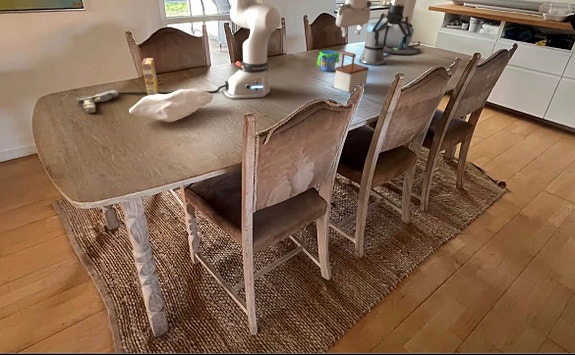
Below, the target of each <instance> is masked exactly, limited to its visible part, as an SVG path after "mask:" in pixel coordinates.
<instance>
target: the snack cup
mask: <svg viewBox="0 0 575 355" xmlns="http://www.w3.org/2000/svg"><path fill="white" fill-rule="evenodd" d="M339 62H340V54H339V52H338V51H336V50H331V49H325V50H324V49H323V50H320V51H319V55H318V57H317V61H316V66H318V67H320V70H321V71H323V72H327V73H329V72H330V73H331V72H334V71H335V68H336V63H337V64H339Z"/></svg>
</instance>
